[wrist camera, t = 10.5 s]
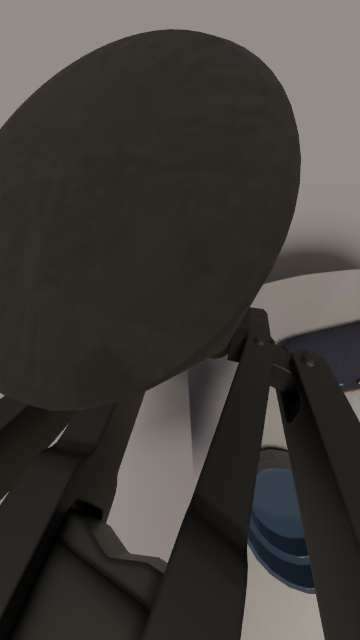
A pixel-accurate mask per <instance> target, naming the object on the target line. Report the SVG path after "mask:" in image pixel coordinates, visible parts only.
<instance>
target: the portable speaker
mask: <svg viewBox="0 0 360 640" xmlns="http://www.w3.org/2000/svg"><path fill="white" fill-rule="evenodd" d="M282 349H283V350H286V351H288V352H291V353H294V352H295V351H296V350H299V349H303V350H309V351H312V352H315V353H317V354H319V355H320V356H321V357H323V358H324V359H325V360H326V362H327V363H328V365H329V367H330V368H331V370H332V372H333V374H334V376H335V378H336V380H337V381H338V383H339V385H340V387H341V389H342V391H343V392H344V393H346V392H353V391H359V390H360V323H357V324H352V325H348V326H344V327H339V328H335V329H331V330H326V331H322V332H317V333H313V334H309V335H304V336H301V337H298V338H296V339H293V340H291V341H288V342H287V343H285V344H284V345H283V346H282Z"/></svg>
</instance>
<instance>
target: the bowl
mask: <svg viewBox="0 0 360 640" xmlns="http://www.w3.org/2000/svg"><path fill="white" fill-rule="evenodd" d="M247 544H248V545H249V547H250V549H251V550H252V552H253V554H254V556H255V557H256V559H257V560H258V561H259V562H260V563H261V564H262V566H263V567H264V568H265V569H266V570H267V571H268V572H269V573H270V574H271V575H272V576H273V577H275V578H276V579H278V580H279V581H281V582H282V583H284V584H285V585H287V586H288V587H290V588H293V589H296V590H299V591H302V592H305V593H309V594H316V591H315V586H314V581H313V576H312V571H311V566H310V561H309V556H308V551H307V546H306V540H305V535H304V530H303V525H302V520H301V515H300V510H299V505H298V500H297V495H296V490H295V484H294V479H293V474H292V469H291V464H290V459H289V454H288V453H287V452H285V451H280V450H273V449H268V450H263V451H260V456H259V463H258V470H257V477H256V484H255V491H254V498H253V505H252V512H251V519H250V526H249V533H248V541H247Z"/></svg>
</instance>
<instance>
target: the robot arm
mask: <svg viewBox="0 0 360 640" xmlns="http://www.w3.org/2000/svg"><path fill="white" fill-rule="evenodd" d="M227 360H230V361H235V362H239V364H238V367H237V370H236V373H235V376H234V379H233V382H232V384H231V387H230V390H229V393H228V396H227V399H226V402H225V405H224V408H223V410H222V413H221V416H220V419H219V422H218V425H217V428H216V431H215V433H214V436H213V439H212V442H211V445H210V448H209V451H208V454H207V457H206V459H205V462H204V465H203V468H202V471H201V474H200V477H199V480H198V482H197V485H196V488H195V491H194V494H193V497H192V499H191V502H190V505H189V507H188V509H187V512H186V514H185V517H184V519H183V522H182V525H181V527H180V530H179V533H178V536H177V539H176V542H175V544H174V547H173V550H172V553H171V556H170V558H169V562H168V563H166V562H165V561H163V560H162V559H160V558H158V557H151V556H143V555H136V554H131V553H129V552H128V551H127V550H126V548H125V547H124V546H123V544H122V543H121V541H120V540H119V538H118V537H117V536H116V534H115V532H114V531H113V529H112V528H111V527H110V526H109V525H107V524H106V521H107V518H108V515H109V512H110V509H111V506H112V503H113V500H114V496H115V493H116V487H117V475H118V471H119V468H120V465H121V462H122V459H123V456H124V452H125V450H126V447H127V444H128V441H129V438H130V435H131V432H132V429H133V426H134V424H135V420H136V418H137V414H138V412H139V409H140V406H141V403H142V400H143V397H144V394H145V392H143V393H141V394H138V395H136V396H133V397H130V398H128V399H125V400H123V401H120V402H117V403H113V404H109V405H105V406H101V407H97V408H90V409H81V410H66V411H51V410H46V409H42V408H39V407H35V406H31V405H28V404H25V403H22V402H19V401H16V400H13V399H11V398H9V397H7V396H4V397H2V398H1V399H0V500H1V499H2V498H3V497H4V496H5V495H6V494H7V493H8V492H9V491H10V492H9V493H8V495H7V496H6V497H5V499H4V500H3V502H2V503H1V505H0V640H240V638H241V630H242V622H243V614H244V607H245V597H246V588H247V572H248V562H247V541H248V533H249V526H250V519H251V512H252V505H253V498H254V491H255V484H256V477H257V470H258V463H259V456H260V449H261V443H262V436H263V429H264V422H265V415H266V408H267V401H268V394H269V387H270V386H272V387H274V388H276V393H277V398H278V403H279V408H280V413H281V418H282V423H283V428H284V433H285V439H286V444H287V449H288V454H289V459H290V464H291V469H292V474H293V479H294V484H295V490H296V495H297V500H298V505H299V510H300V515H301V520H302V525H303V530H304V535H305V540H306V546H307V551H308V556H309V561H310V566H311V571H312V576H313V581H314V586H315V591H316V597H317V602H318V607H319V612H320V617H321V622H322V627H323V632H324V637H325V640H360V422H359V420H358V418H357V416H356V415H355V413H354V411H353V409H352V407H351V405H350V404H349V402H348V400H347V398H346V396H345V394H344V392H343V391H342V389H341V387H340V385H339V383H338V381H337V380H336V378H335V376H334V374H333V372H332V370H331V368H330V367H329V365H328V363H327V362H326V360H325V359H324V358H323V357H321V356H320V355H319V354H317V353H315V352H312V351H309V350H303V349H299V350H296V351H295V352H294V353H291V352H288V351H286V350H283V349H281V348H279V347H278V346H276V345H275V341H274V340H273V339H272V338H271V336H270V329H269V323H268V315H267V313H266V312H265V310H264V309H258V308H251V307H249V309H248V311H247V312H246V314H245V316H244V317H243V319H242V321H241V323H240V324H239V326H238V328H237V329H236V331H235V333H234V334H233V336H232V338H231V340H230V345H229V352H228V359H227ZM67 425H68V426H67ZM66 426H67V428H66V429H65V431H64V432H63V434H62V435H61V437H60V439H59V440H58V441H57V443H55V444H54V445H53V446H52V447H50V448H48V447H49V446H50V445H51V443H52V442H53V441H54V440H55V439H56V438H57V436H58V435H59V434H60V433H61V432H62V431H63V430H64V428H65V427H66Z"/></svg>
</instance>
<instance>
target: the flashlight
mask: <svg viewBox="0 0 360 640" xmlns="http://www.w3.org/2000/svg"><path fill="white" fill-rule="evenodd" d="M300 165H301V154H300V145H299V134H298V130H297V126H296V122H295V118H294V114H293V110H292V107H291V104H290V102H289V100H288V98H287V95H286V93H285V91H284V89H283V87H282V85H281V83H280V82H279V81H278V79H277V78H276V76H275V75H274V73H273V72H272V71H271V69H270V68H268V66H267V65H266V64H265V63H263V61H262V60H261V59H259V58H258V57H257V56H256V55H254V54H253V53H251V52H250V51H249V50H247V49H246V48H244V47H242V46H240V45H238V44H235V43H234V42H232V41H229V40H226V39H223V38H220V37H216V36H213V35H210V34H206V33H202V32H196V31H190V30H174V29H169V30H158V31H151V32H145V33H140V34H137V35H133V36H129V37H126V38H123V39H120V40H118V41H114V42H112V43H109V44H107V45H105V46H103V47H101V48H98V49H96V50H94V51H92V52H91V53H89V54H87V55H85V56H83V57H81V58H80V59H78V60H77V61H75V62H73V63H72V64H70V65H69V66H67V67H66V68H65V69H63V70H61V71H60V72H59V73H57V74H56V75H55V76H53V77H52V78H51V79H50V80H48V81H47V82H46V83H44V84H43V85H42V86H41V87H40V88H39V89H38V90H36V91H35V92H34V93H33V94H32V95H31V96H30V97H29V98H28V99H27V100H26V101H25V102H24V103H23V104H22V105H21V106H20V107H19V108H18V109H17V110H16V111H15V112H14V114H13V115H12V116H11V117H10V118H9V119H8V121H7V122H6V123H5V124H4V125H3V126H2V128H1V129H0V393H2V394H3V395H5V396H7V397H9V398H11V399H13V400H16V401H19V402H22V403H25V404H28V405H31V406H35V407H39V408H42V409H46V410H51V411H66V410H81V409H90V408H97V407H101V406H105V405H109V404H113V403H117V402H120V401H123V400H125V399H128V398H130V397H133V396H136V395H138V394H141V393H143V392H145V391H147V390H149V389H151V388H153V387H155V386H157V385H159V384H160V383H162V382H164V381H166V380H168V379H170V378H172V377H174V376H176V375H177V374H179V373H181V372H183V371H185V370H187V369H189V368H191V367H192V366H194V365H196V364H198V363H200V362H202V361H204V360H206V359H207V358H213V359H216V358H221V357H223V356H225V355H227V354H228V352H229V345H230V340H231V338H232V336H233V334H234V333H235V331H236V329H237V328H238V326H239V324H240V323H241V321H242V319H243V317H244V316H245V314H246V312H247V311H248V309H249V307H250V306H251V304H252V302H253V300H254V299H255V297H256V295H257V294H258V292H259V290H260V289H261V287H262V285H263V283H264V282H265V280H266V278H267V277H268V275H269V273H270V271H271V270H272V268H273V266H274V263H275V262H276V259H277V257H278V255H279V253H280V251H281V248H282V246H283V244H284V242H285V239H286V237H287V234H288V230H289V227H290V224H291V221H292V218H293V215H294V212H295V206H296V201H297V196H298V190H299V184H300Z"/></svg>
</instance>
